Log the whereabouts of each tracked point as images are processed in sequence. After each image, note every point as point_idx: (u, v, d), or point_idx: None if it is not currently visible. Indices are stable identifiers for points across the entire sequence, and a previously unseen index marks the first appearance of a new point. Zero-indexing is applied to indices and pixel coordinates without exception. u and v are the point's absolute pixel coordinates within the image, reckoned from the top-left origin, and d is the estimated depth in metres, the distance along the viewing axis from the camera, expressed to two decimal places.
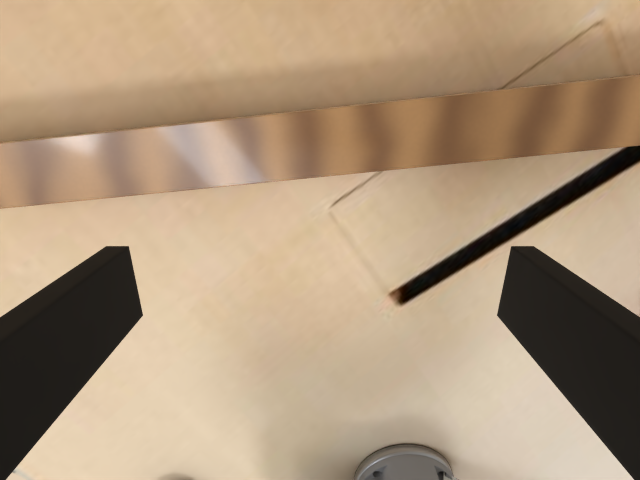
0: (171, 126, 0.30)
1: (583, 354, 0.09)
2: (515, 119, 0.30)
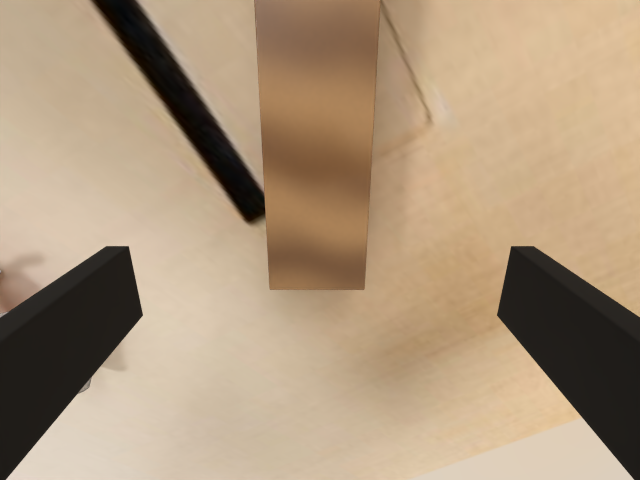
0: None
1: (583, 354, 0.09)
2: None
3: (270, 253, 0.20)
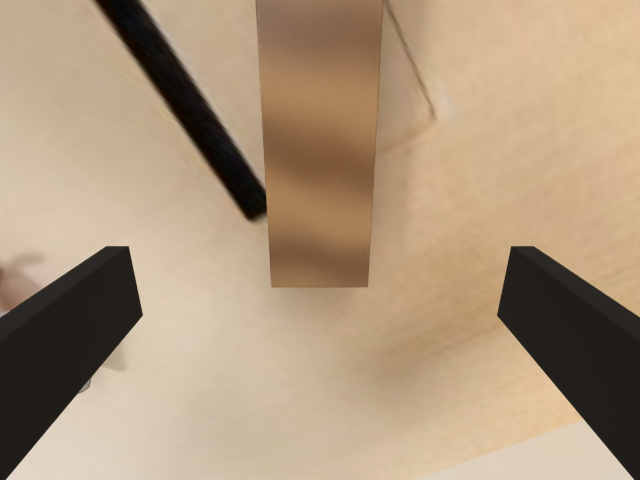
0: None
1: (583, 354, 0.09)
2: None
3: (272, 250, 0.20)
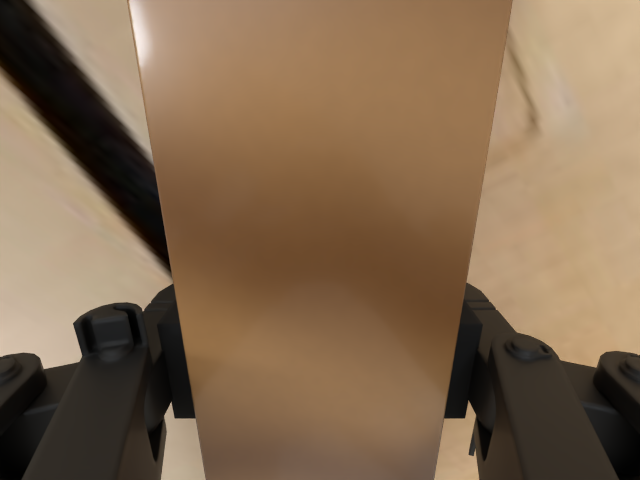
0: None
1: None
2: None
3: (207, 452, 0.08)
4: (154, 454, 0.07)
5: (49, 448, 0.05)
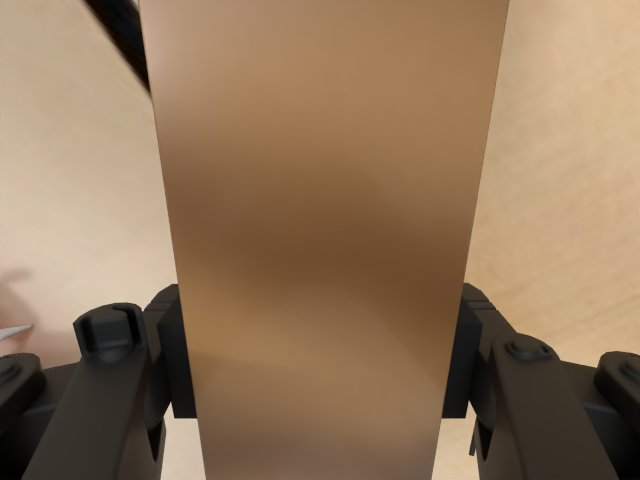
0: None
1: None
2: None
3: (207, 446, 0.08)
4: (154, 454, 0.07)
5: (48, 448, 0.05)
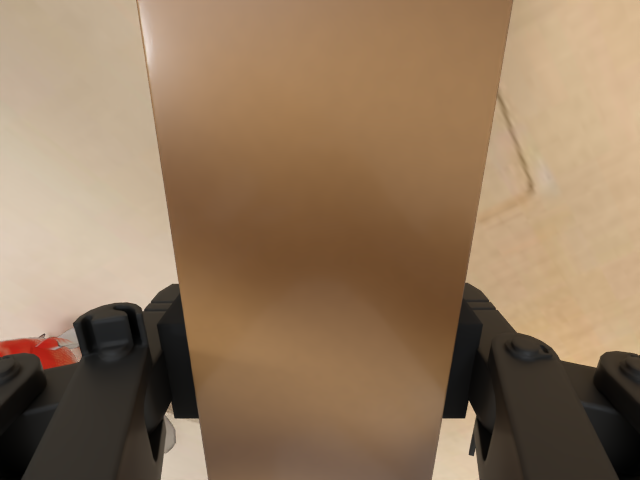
0: None
1: None
2: None
3: (209, 446, 0.08)
4: (154, 454, 0.07)
5: (49, 448, 0.05)
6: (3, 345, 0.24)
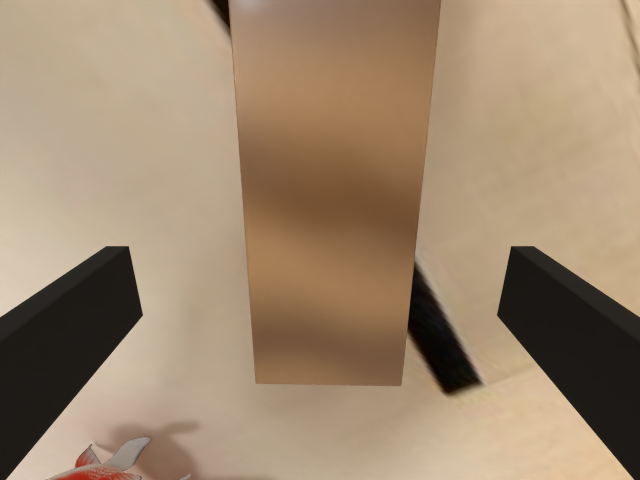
0: None
1: (583, 354, 0.09)
2: None
3: (256, 332, 0.13)
4: None
5: None
6: None
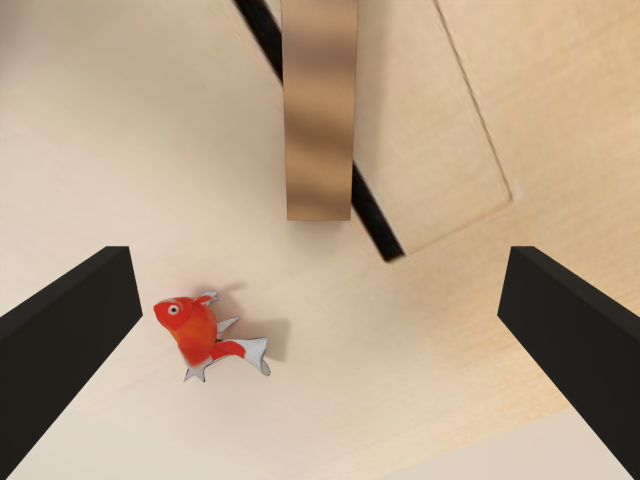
0: None
1: (583, 354, 0.09)
2: None
3: (288, 194, 0.31)
4: None
5: None
6: (177, 300, 0.37)
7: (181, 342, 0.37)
